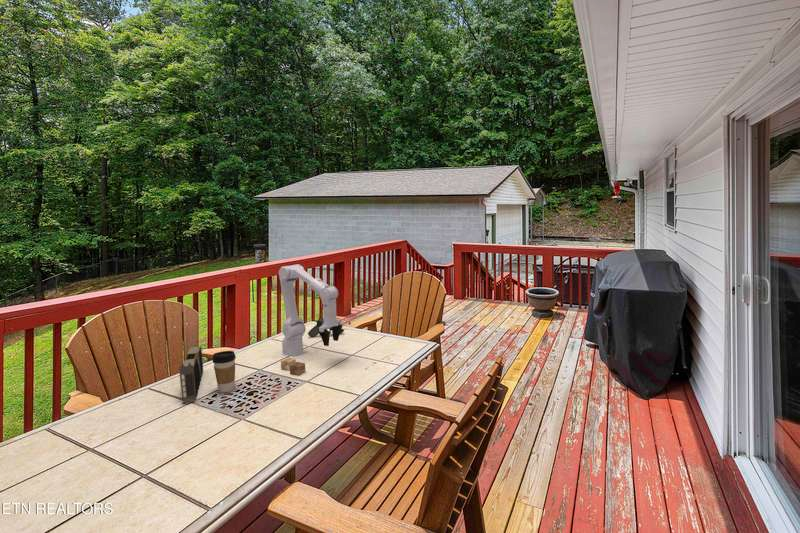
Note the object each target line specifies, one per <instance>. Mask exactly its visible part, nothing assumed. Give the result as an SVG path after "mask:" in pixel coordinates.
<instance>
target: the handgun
mask: <svg viewBox="0 0 800 533" xmlns="http://www.w3.org/2000/svg"><path fill="white" fill-rule="evenodd" d="M315 322H316V324H315V325H314V326H313V327H311V329H309V331H308V332H307V335H308V336H309V337H310V338H313V339H314V337H315V338H316V337H317V336H318V335H320V334H319V333H318V330H319V327H321V326H322V325H323V324H324V317H319V318H318V319H317V320H315ZM328 331H331V332H332V330H331V328H329V329H328ZM344 331H345V328H343V327H342V328H341V331H340V334H341V335H342V333H344ZM340 334H339V335H340Z"/></svg>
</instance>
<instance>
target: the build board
mask: <svg viewBox="0 0 800 533" xmlns="http://www.w3.org/2000/svg"><path fill="white" fill-rule="evenodd" d="M307 373H309V371H307V370H305V373H303V374H301V375H300V376H296V375H291V374H290V372H289V373H288V374H287V376H290V377H295V378H301V377H302V376H304V375H306V374H307Z"/></svg>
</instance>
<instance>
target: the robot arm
mask: <svg viewBox="0 0 800 533" xmlns="http://www.w3.org/2000/svg"><path fill="white" fill-rule="evenodd" d="M278 277H279V282H280V289H281V294H282V298H283V305H284V311H285V314H286V319H285V320H284V322H283V323H282V326H283V327H282V328H283V329H282V334H283V336H284V337H283V339H282V342H281V344H282V345H281V346H282V347H281V348H282V354H281V356H290V357H296V356H297V357H298V356H302V355H305V354H306V353H308V352H307V351H305V350H304V346H303V345H304V344H303V342H304V341H303V340H304V339H303V336H304V334H305V333H306V331H307V330H306V325H305V323H304V320H303V318H301V317H300V316H299V312H298V309H297V303H296V297H295V296H296V295H295V290H294V286H293V285H294V283H295V282H296V281H297V280H298V279H300V280H301V281H303V282H305V283H306V284H308V285H309V288H310V289H311V290H312V291H314V292H315V293H316V294H317V295H319V298H320V299H321V303H322V311H323V312H322V314H323V319H324V324H323V325H322V326H321V327H319V330H318V333H319V334H318V335H319V336H320V338H321V340H322V344H323V346H324V347H329V346H330V337H331V333H332V339H333V341H334V342H335V341H336V342H338V341H339V338H340V331H341V328H342V329H343V324H342V319H339V318H337V298H338V297H339V290H338V288H337V287H336V286H335V285H329V284H328V283H325V281H323V280H322V279H321V278H314V277H313V276H312V275H311V274H309V272H307V271H306V270H305V268H304V266H302V265H301V264H299V263H297V264H291V265H284V266H283V265H282V266H280V269H279V271H278ZM329 328H331V331H329V330H330V329H329Z"/></svg>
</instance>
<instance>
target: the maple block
mask: <svg viewBox="0 0 800 533" xmlns="http://www.w3.org/2000/svg"><path fill="white" fill-rule="evenodd" d="M295 362H297V359H296V358H294V357H293V358H292V357H286V358H284V359H281V360H280V370H282V371H288V372H290V365H291V364H293V363H295Z"/></svg>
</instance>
